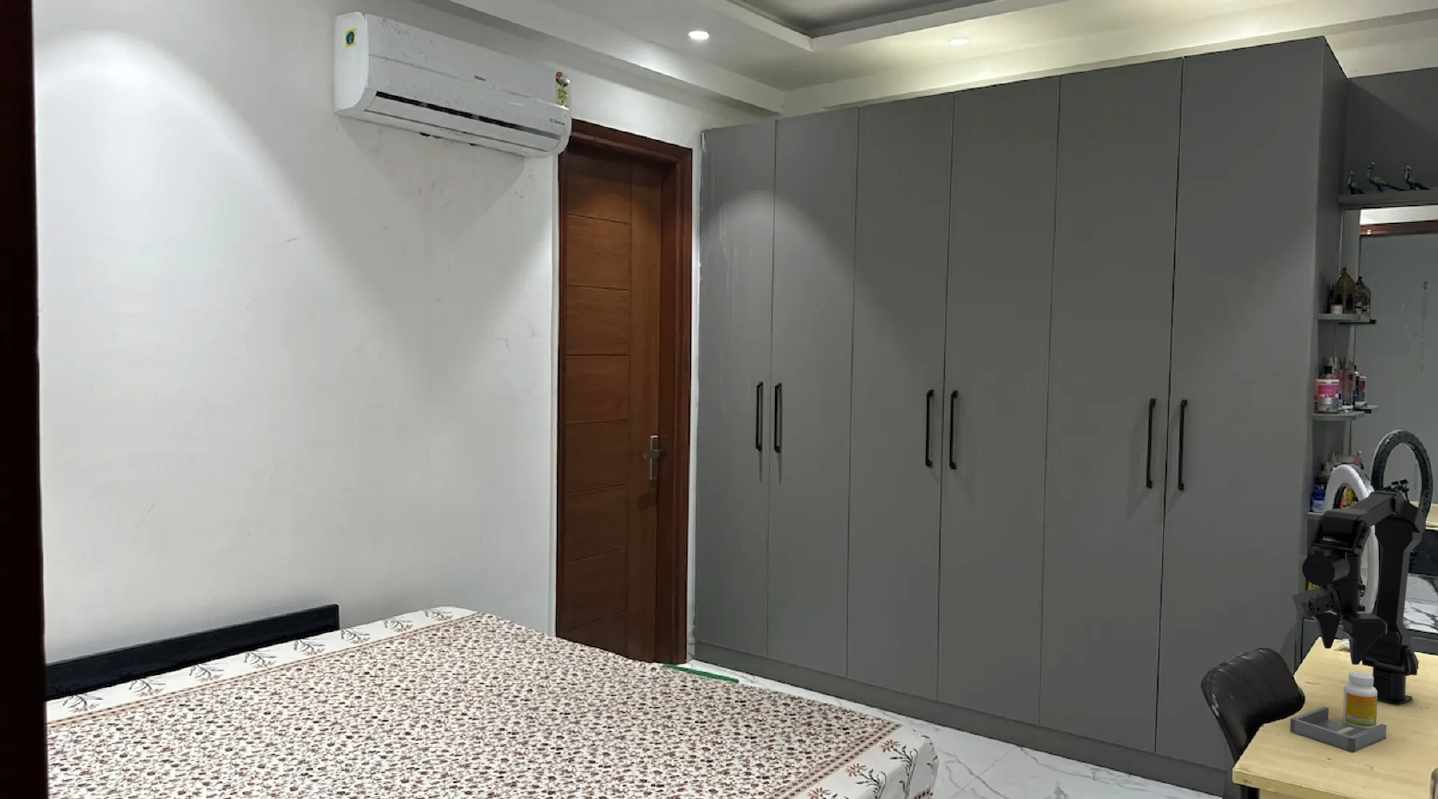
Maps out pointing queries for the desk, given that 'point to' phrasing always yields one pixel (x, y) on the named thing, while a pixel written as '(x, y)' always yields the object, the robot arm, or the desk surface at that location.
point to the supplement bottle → (1360, 701)
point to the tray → (1335, 731)
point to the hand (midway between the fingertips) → (1341, 656)
